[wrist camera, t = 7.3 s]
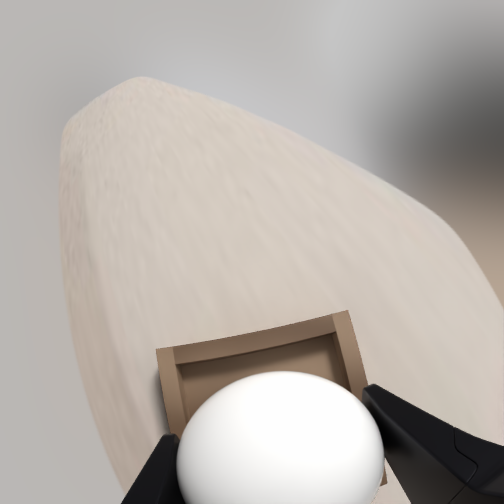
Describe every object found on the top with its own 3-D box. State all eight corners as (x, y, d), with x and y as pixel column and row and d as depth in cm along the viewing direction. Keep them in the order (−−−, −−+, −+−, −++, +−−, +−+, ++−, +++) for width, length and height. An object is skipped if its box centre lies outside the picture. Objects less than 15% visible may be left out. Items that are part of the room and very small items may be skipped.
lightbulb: (359, 399, 15) (459, 417, 5) (308, 491, 13) (327, 608, 3) (258, 357, 17) (211, 317, 7) (209, 448, 14) (105, 517, 5)
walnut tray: (374, 474, 14) (387, 483, 12) (202, 511, 13) (195, 524, 11) (338, 318, 18) (347, 309, 16) (167, 353, 18) (155, 349, 16)
